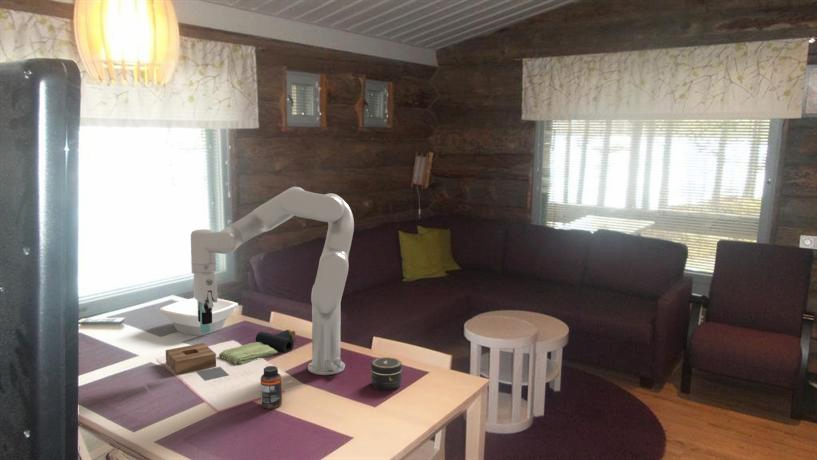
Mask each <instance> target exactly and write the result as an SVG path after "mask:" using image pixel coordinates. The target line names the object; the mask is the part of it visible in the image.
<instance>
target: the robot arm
mask: <svg viewBox="0 0 817 460" xmlns="http://www.w3.org/2000/svg"><path fill="white" fill-rule="evenodd" d="M294 216H295V217H298V218H303V219H306V220H307V219H308V220H309V219H310V220H315V221H320V222H324V223H328V228H327V233H326V236H325V237H326V238H325V243H324V246H323V249H322V253H321V256H320V258H319V262H318V268H317V272H316V276H315V281H314V283H313V286H312V289H311V297H310V298H311V299H310V301H311V313H312V314H311V318H312V319H311V320H312V321H311V323H312V324H311V333H312V334H311V340H312V341H311V343H312V344H311V347H312V348H311V352H312V357H311V358H312V361H311V362H310V363H308V365H307V370H308V372H310V373H311V374H314V375H318V376H319V375H320V376H331V375H335V374H339V373H342V372H344V371H345V369H346V363H344V361H342V359H341V325H342V323H341V318H342V317H341V308H342V307H341V302H342V297H343V294H344V290H345V285H346V282H347V279H348V278H347V277H348V274H349V255H350V250H351V246H352V241H353V235H354V232H355V231H354V230H355V221H354V215H353V212H352V209H351V208H350V206H349V204H348V203H347V202H346V201H345V200H344V199H343V198H342V197H341V196H339V195H338V194H335V193H330V192H329V193H326V194H322V193H317V192H316V193H315V192H312V191H308V190H305V189H303V188H302V187H299V186H292V187H290V188H287V189H285V190H284V191H283V192H281V193H280V194H278V195H276V196H274V197H272V198H270V199H269V200H268V201H266V202H264V203H263V204H261V205H259V206H258V207H256V208H255V209H253V210H252V211H251V212H250V213H249V214H247V215H245V216H243V217H242V218H240V219H238V220H237V221H235V222H233V223H232V224H231V225H228V226H226V227H225V228H224V229H222V230H220V231H213V230H212V229H206V228H205V229H204V228H203V229H195V230H193V231H192V232H191V234H190V256H191V257H190V259H191V261H190V263H191V273H192V274H193V298H195V299H196V300H197V303H198V309H200V302H201V303H202V308H203V312H202V324H203V325H204V324H210V323H212V308H213V302H215V303H216V302H217V301H218V299H219V297H218V285H217V277H216V273H217V259H216V258H217V257H216V255H217V254H221V255H222V254H223V255H230V254H232V253H234V252H235V251H236V250H237V249H238V248H239V247H240V246H242V245H244V244H245V243H247V242H248V241H249V240H251V239H253V238H255V237H256V236H258V235H260V234H263V233H266V232H269V231H271V230H273V229H275V228H277V227H278V226H279V225H281V224H283V223H285V222H288V220H290V219H292V218H294ZM205 301H208V302H207V303H206V302H205ZM205 305H207V306H206V307H205ZM198 321H199V322H200V310H198Z"/></svg>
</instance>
